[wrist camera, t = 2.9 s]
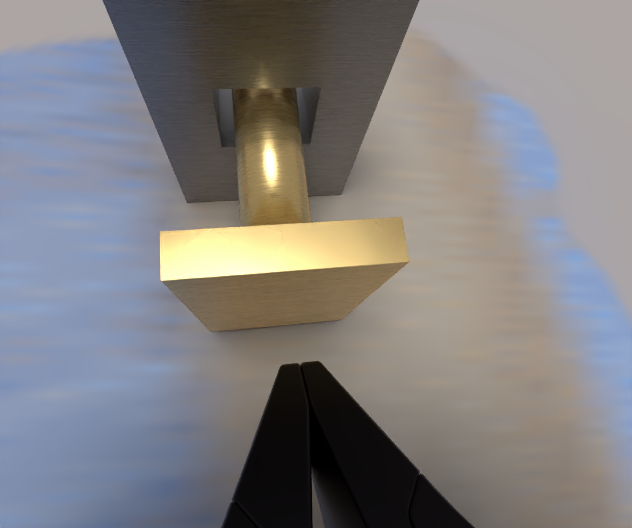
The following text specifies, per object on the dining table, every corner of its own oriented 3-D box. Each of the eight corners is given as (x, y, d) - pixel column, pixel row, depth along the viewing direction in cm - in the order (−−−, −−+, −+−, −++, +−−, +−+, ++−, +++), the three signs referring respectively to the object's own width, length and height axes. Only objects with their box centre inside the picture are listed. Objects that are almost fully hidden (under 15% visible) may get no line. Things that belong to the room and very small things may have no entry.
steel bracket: (341, 194, 23) (428, -25, 11) (187, 202, 22) (89, -32, 10) (334, 144, 24) (409, -114, 12) (185, 149, 23) (92, -129, 11)
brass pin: (341, 319, 20) (409, 261, 11) (211, 331, 20) (160, 280, 10) (318, 131, 23) (357, -49, 13) (201, 135, 22) (155, -55, 13)
